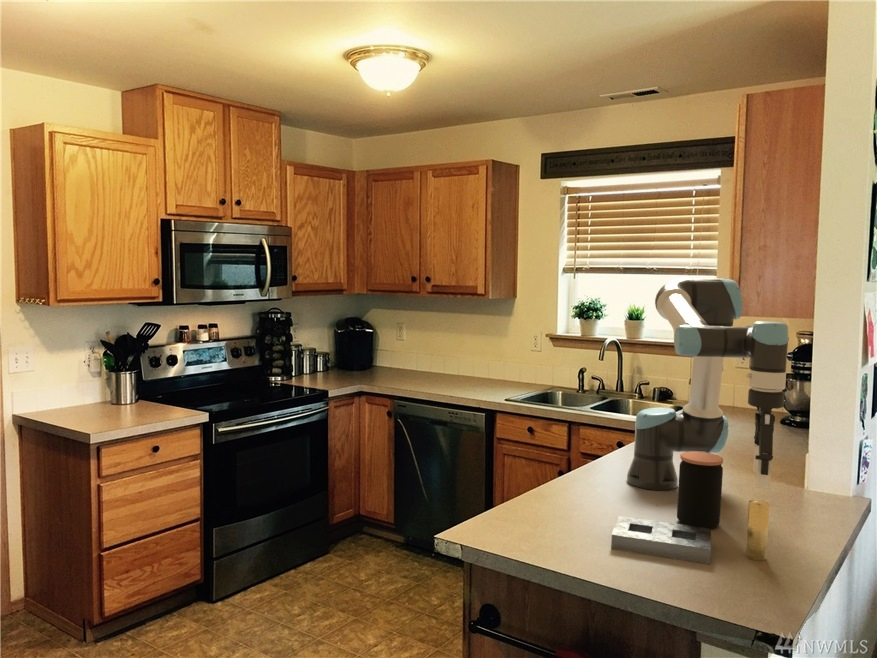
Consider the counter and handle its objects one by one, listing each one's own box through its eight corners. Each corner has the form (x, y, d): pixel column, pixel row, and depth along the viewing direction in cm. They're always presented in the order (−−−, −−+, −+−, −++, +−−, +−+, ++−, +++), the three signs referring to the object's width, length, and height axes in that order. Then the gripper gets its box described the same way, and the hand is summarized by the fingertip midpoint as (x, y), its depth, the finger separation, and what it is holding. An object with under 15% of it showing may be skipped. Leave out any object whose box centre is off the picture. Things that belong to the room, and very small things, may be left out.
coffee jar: (709, 516, 194) (713, 451, 193) (726, 531, 184) (730, 462, 182) (670, 516, 194) (674, 451, 192) (685, 530, 183) (689, 461, 182)
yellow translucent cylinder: (745, 552, 170) (748, 498, 169) (765, 555, 169) (768, 501, 168) (745, 558, 166) (749, 504, 165) (766, 562, 165) (770, 506, 164)
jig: (618, 529, 183) (618, 515, 183) (710, 542, 176) (710, 528, 175) (611, 548, 170) (611, 534, 170) (710, 564, 163) (710, 549, 162)
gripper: (746, 380, 177) (741, 464, 179) (751, 396, 154) (745, 493, 155) (779, 382, 174) (774, 468, 176) (790, 399, 151) (784, 497, 153)
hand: (760, 480), depth 166 cm, fingers open, 13 cm apart
